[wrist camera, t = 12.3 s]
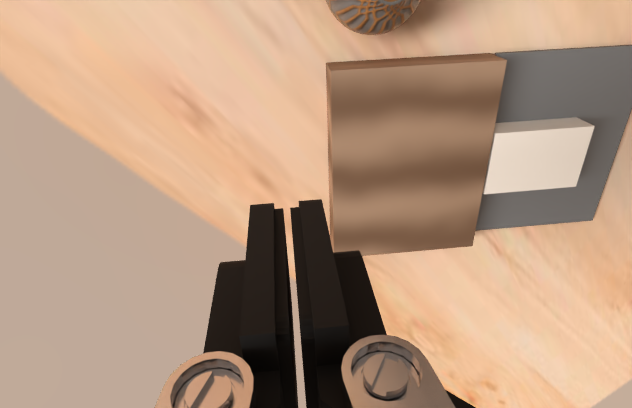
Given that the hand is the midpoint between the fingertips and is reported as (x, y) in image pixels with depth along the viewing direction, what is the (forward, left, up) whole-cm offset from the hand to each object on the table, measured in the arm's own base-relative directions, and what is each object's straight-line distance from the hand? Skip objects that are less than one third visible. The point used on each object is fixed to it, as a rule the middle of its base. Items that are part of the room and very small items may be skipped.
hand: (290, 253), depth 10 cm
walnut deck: (+10, +11, -27) cm, 31 cm away
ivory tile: (+10, +23, -27) cm, 37 cm away
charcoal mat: (+10, +26, -27) cm, 39 cm away
